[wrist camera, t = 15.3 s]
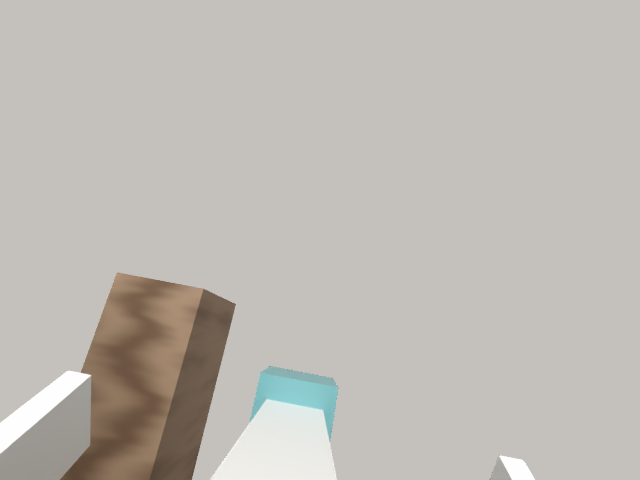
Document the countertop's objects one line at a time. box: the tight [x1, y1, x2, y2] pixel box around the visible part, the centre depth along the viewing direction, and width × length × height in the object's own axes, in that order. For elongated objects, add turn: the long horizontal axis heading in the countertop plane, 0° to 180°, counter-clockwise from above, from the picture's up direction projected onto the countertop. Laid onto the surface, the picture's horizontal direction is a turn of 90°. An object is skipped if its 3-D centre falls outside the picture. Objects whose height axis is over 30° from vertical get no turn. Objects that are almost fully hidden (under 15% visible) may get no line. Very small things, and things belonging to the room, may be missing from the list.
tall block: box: [60, 273, 236, 480], centre depth 33 cm, size 8×14×30 cm, turn 2°
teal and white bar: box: [210, 366, 338, 480], centre depth 16 cm, size 26×6×6 cm, turn 2°
